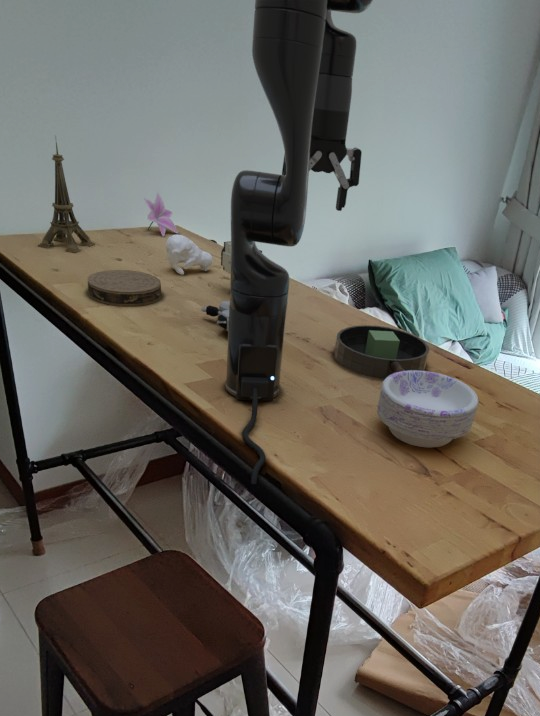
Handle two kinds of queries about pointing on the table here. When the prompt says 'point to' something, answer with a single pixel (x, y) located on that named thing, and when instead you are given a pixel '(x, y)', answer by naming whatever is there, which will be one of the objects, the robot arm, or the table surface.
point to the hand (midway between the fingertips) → (317, 208)
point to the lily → (160, 215)
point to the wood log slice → (124, 287)
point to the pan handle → (396, 367)
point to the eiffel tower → (63, 214)
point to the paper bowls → (426, 407)
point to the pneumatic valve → (227, 257)
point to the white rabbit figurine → (186, 254)
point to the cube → (382, 344)
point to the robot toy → (219, 313)
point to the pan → (355, 359)
